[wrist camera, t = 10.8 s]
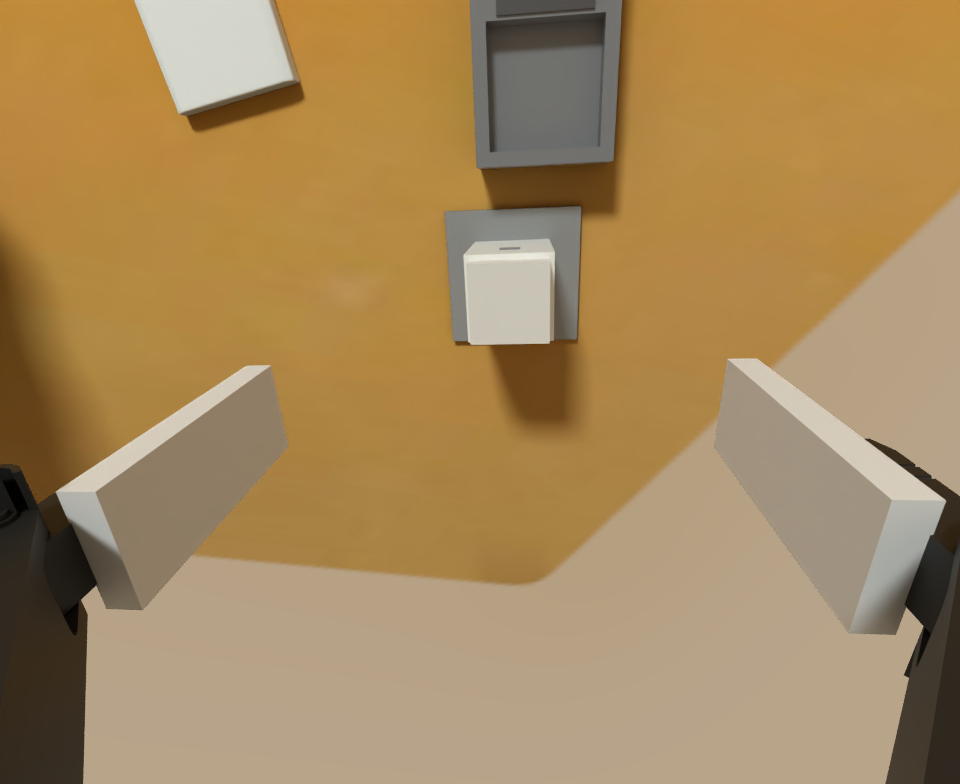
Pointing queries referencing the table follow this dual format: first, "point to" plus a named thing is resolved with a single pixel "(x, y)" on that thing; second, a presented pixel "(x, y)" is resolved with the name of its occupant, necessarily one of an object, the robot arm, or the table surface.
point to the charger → (510, 292)
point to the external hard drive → (218, 50)
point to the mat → (518, 225)
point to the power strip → (545, 81)
